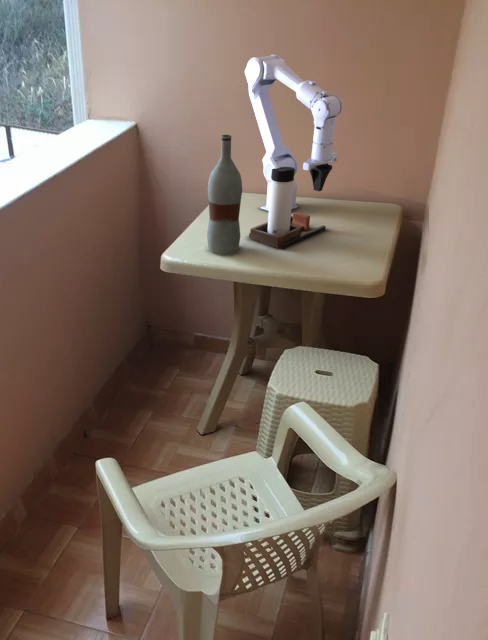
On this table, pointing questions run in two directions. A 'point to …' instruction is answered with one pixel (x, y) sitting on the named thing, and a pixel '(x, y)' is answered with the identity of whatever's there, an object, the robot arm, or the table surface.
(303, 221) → the carrier
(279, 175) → the travel mug
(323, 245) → the table surface
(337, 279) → the table surface
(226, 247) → the bottle
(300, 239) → the rails
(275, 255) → the table surface
